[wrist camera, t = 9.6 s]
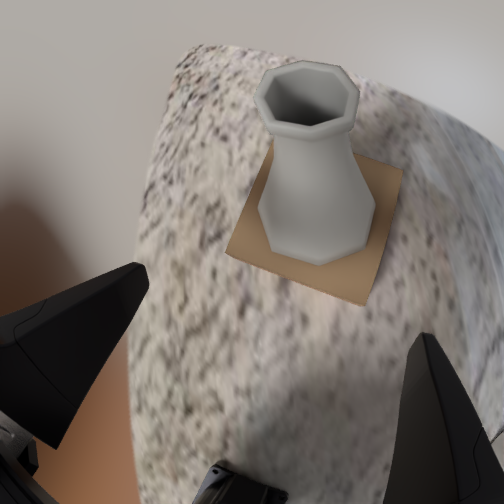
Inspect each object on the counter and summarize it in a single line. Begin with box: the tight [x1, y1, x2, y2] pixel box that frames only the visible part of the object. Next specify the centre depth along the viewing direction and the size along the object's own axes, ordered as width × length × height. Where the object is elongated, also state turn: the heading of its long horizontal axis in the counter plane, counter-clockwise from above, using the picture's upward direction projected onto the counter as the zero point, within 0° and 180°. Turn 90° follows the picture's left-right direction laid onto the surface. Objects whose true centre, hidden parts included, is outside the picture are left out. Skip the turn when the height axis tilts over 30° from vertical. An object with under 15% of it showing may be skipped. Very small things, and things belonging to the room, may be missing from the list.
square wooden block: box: [225, 139, 403, 306], centre depth 18 cm, size 9×9×3 cm
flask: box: [253, 60, 376, 266], centre depth 12 cm, size 7×7×10 cm
